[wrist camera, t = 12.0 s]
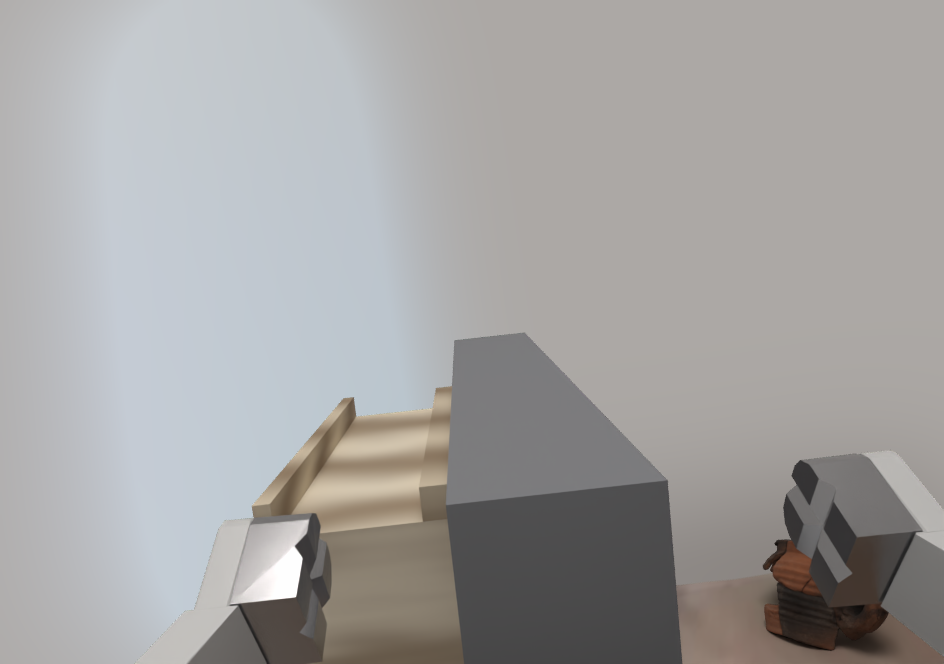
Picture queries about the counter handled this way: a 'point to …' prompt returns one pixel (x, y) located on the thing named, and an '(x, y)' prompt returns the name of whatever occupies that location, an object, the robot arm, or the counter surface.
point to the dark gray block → (552, 519)
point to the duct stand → (380, 532)
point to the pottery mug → (812, 604)
